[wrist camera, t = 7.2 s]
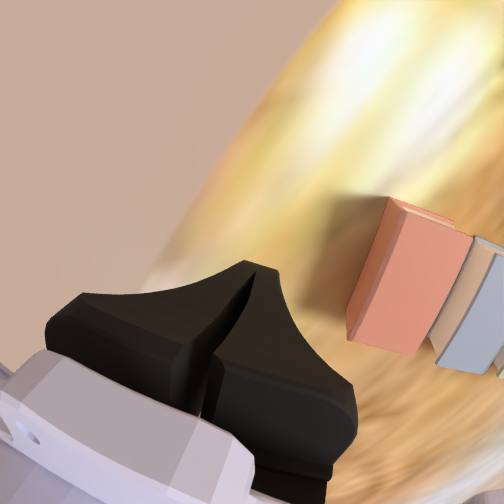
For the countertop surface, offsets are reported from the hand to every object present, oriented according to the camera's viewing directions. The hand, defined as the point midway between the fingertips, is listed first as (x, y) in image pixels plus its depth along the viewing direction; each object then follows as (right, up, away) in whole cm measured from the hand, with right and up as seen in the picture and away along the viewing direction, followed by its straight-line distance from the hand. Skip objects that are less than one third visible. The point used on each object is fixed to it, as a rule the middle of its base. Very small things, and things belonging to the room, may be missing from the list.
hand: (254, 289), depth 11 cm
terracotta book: (+8, +1, +5) cm, 10 cm away
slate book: (+13, -1, +5) cm, 14 cm away
